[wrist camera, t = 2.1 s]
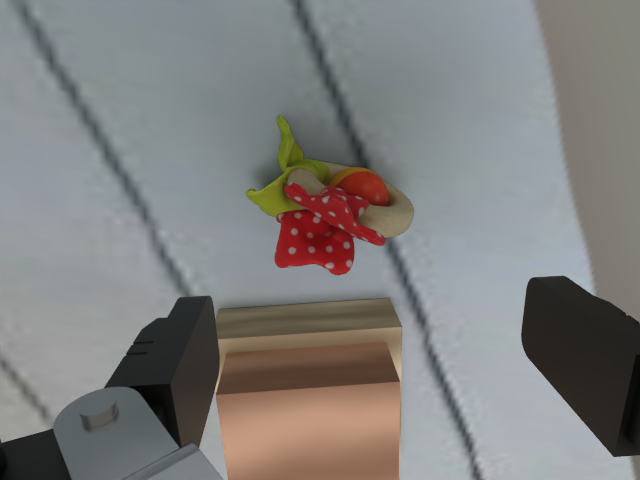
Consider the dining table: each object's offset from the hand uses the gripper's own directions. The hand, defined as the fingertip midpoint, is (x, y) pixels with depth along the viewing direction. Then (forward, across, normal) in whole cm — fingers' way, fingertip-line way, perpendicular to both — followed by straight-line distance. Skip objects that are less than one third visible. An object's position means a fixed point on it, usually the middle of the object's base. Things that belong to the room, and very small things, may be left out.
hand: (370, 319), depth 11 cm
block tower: (+18, +2, +16) cm, 24 cm away
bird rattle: (+18, 0, 0) cm, 19 cm away
